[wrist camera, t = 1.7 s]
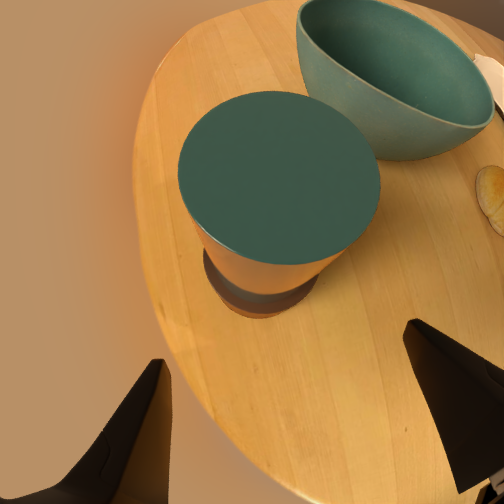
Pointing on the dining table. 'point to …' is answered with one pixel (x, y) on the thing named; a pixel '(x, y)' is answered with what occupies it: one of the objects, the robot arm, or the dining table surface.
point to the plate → (493, 79)
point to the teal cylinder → (276, 190)
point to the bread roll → (492, 196)
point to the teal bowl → (391, 77)
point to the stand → (248, 307)
